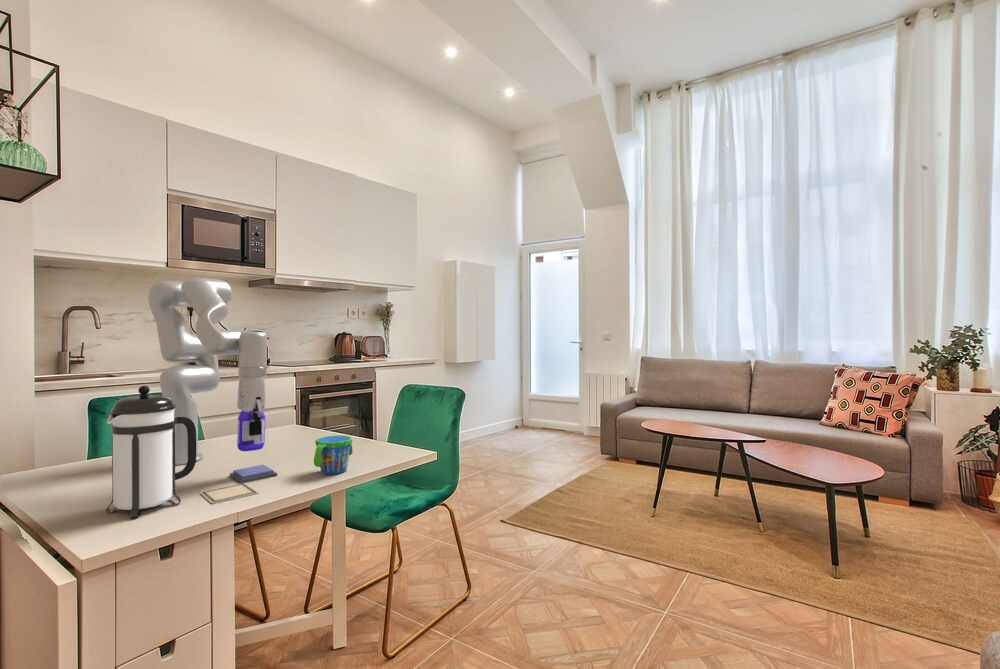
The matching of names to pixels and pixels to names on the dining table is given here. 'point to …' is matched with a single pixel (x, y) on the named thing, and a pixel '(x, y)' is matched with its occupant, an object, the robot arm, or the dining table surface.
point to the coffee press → (146, 451)
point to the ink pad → (252, 473)
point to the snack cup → (333, 453)
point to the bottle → (243, 437)
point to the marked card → (228, 493)
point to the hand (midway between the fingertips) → (251, 432)
